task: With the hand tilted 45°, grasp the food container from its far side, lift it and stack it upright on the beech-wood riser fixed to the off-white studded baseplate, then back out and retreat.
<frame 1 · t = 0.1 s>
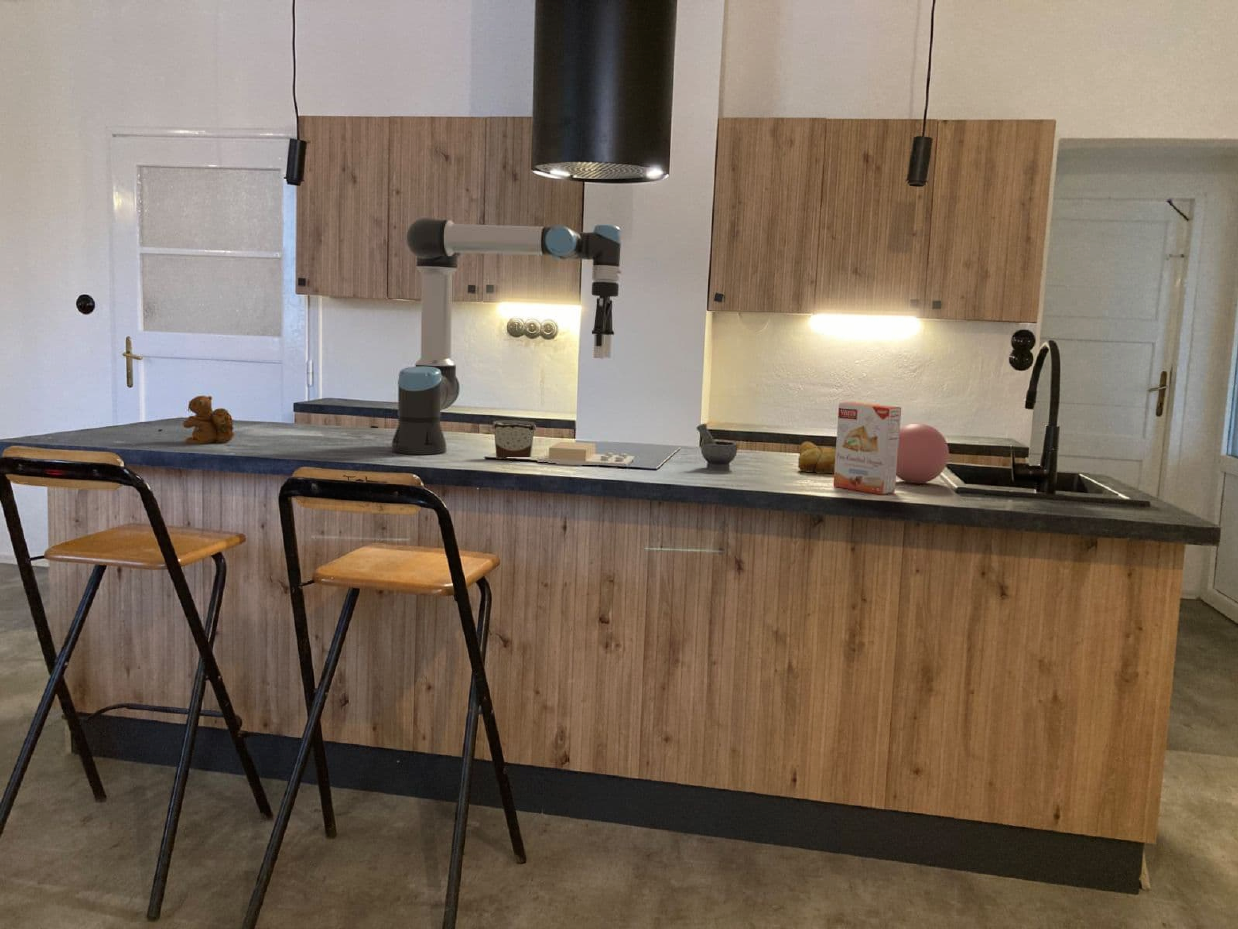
hand: (602, 358, 288), 28 cm above the countertop, tool pointing down, fingers open, 13 cm apart
bread roll: (819, 473, 275), on the countertop
build plate: (586, 461, 278), on the countertop
stuffed squirrel: (211, 443, 287), on the countertop
food container: (515, 458, 280), on the countertop
cracker box: (863, 491, 246), on the countertop
balloon: (913, 482, 264), on the countertop
mortar and pestle: (715, 468, 275), on the countertop
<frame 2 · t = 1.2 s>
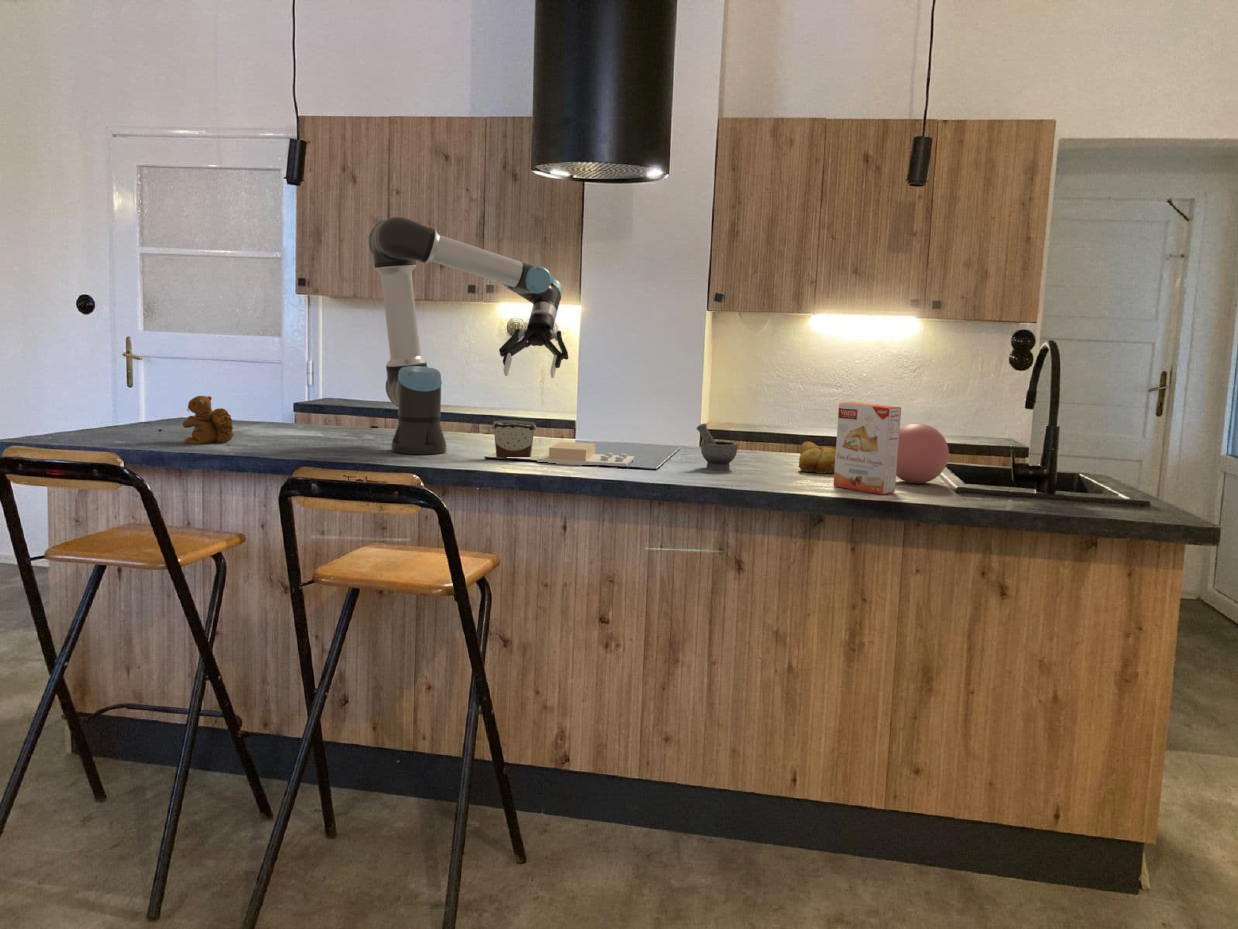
hand: (528, 373, 289), 23 cm above the countertop, tool tilted 45°, fingers open, 13 cm apart
nothing on the countertop moved.
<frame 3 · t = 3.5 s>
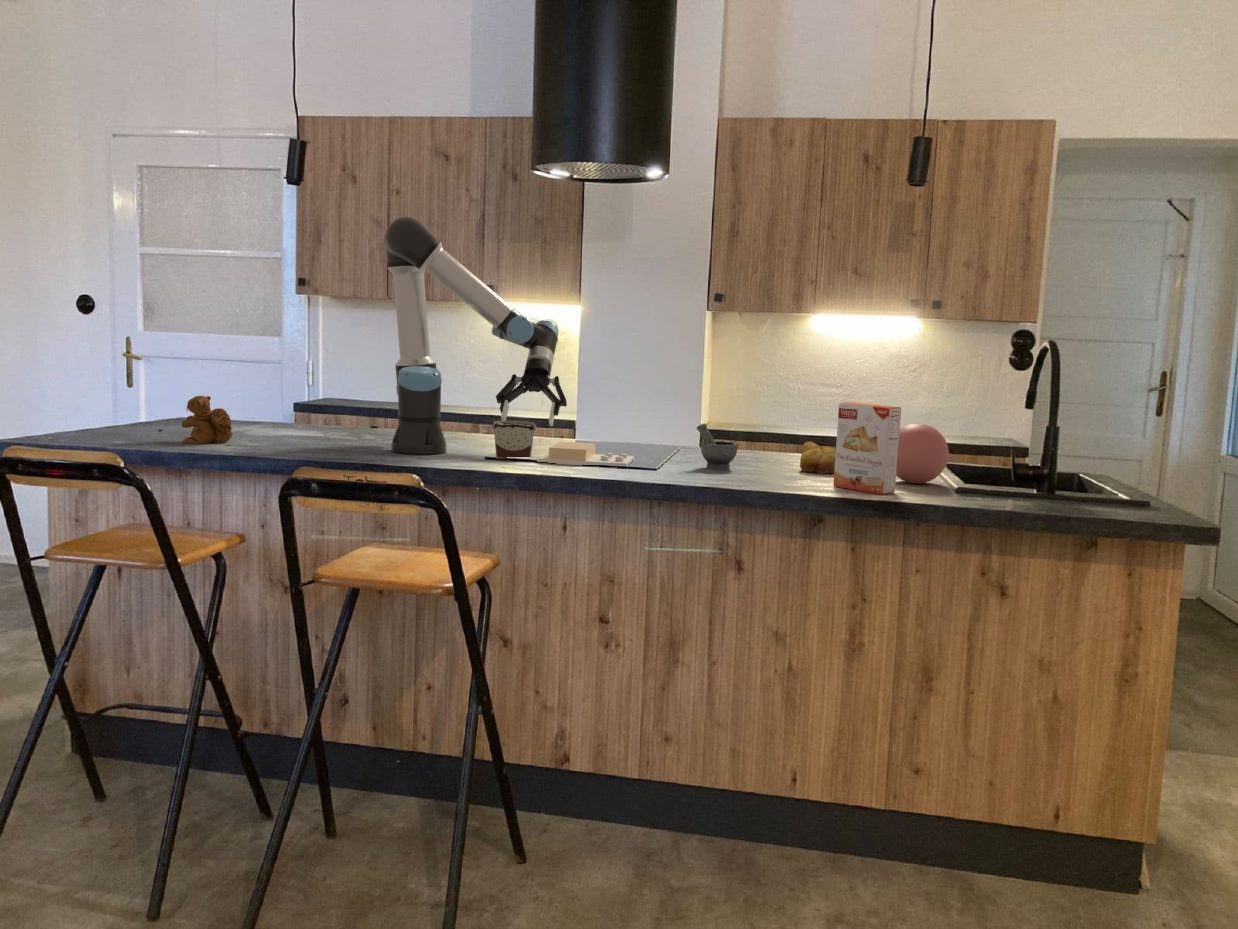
hand: (526, 422, 284), 9 cm above the countertop, tool tilted 45°, fingers open, 13 cm apart
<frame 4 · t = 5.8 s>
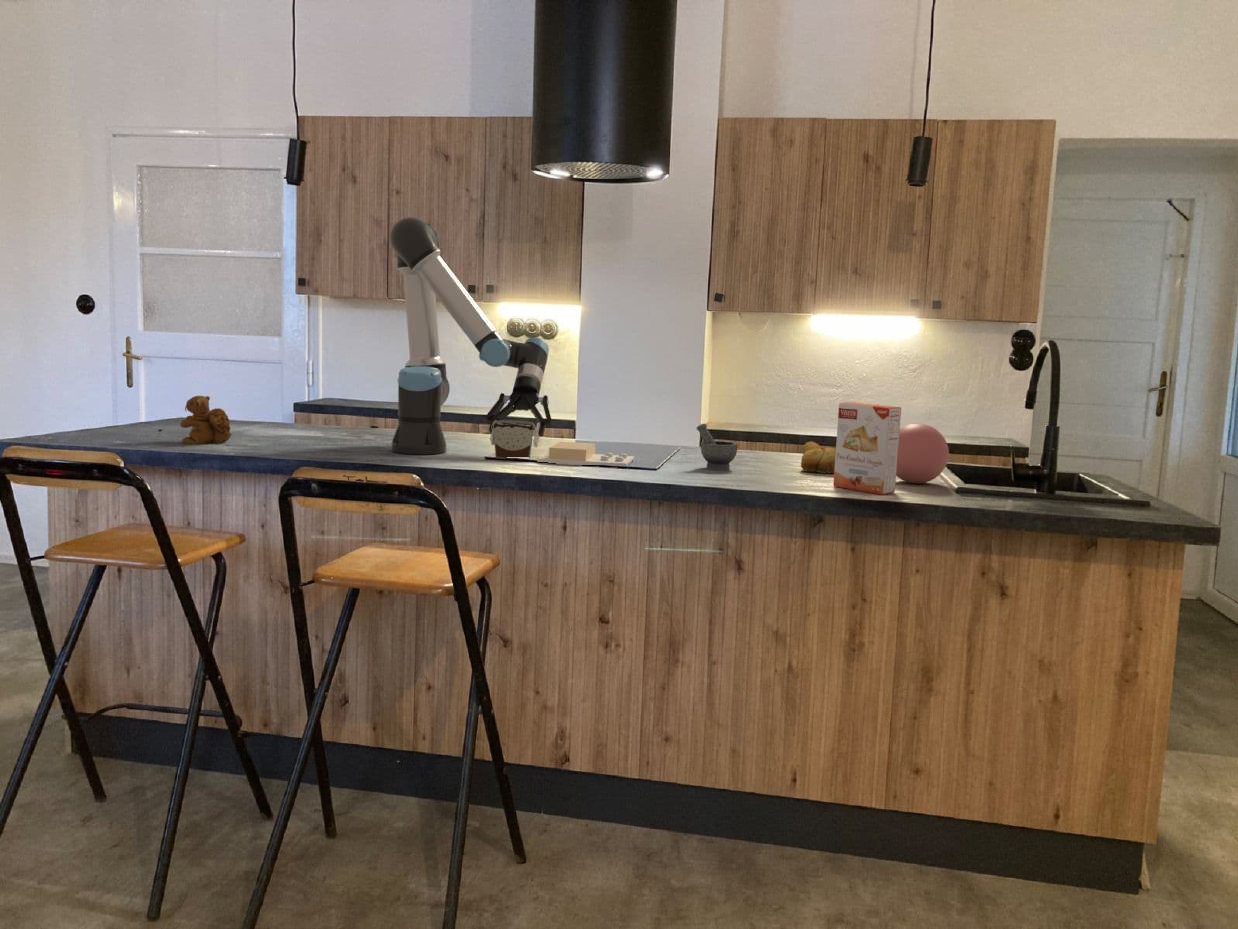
hand: (513, 443, 277), 4 cm above the countertop, tool tilted 45°, fingers closed on food container, 11 cm apart
food container: (514, 458, 280), on the countertop, touching gripper
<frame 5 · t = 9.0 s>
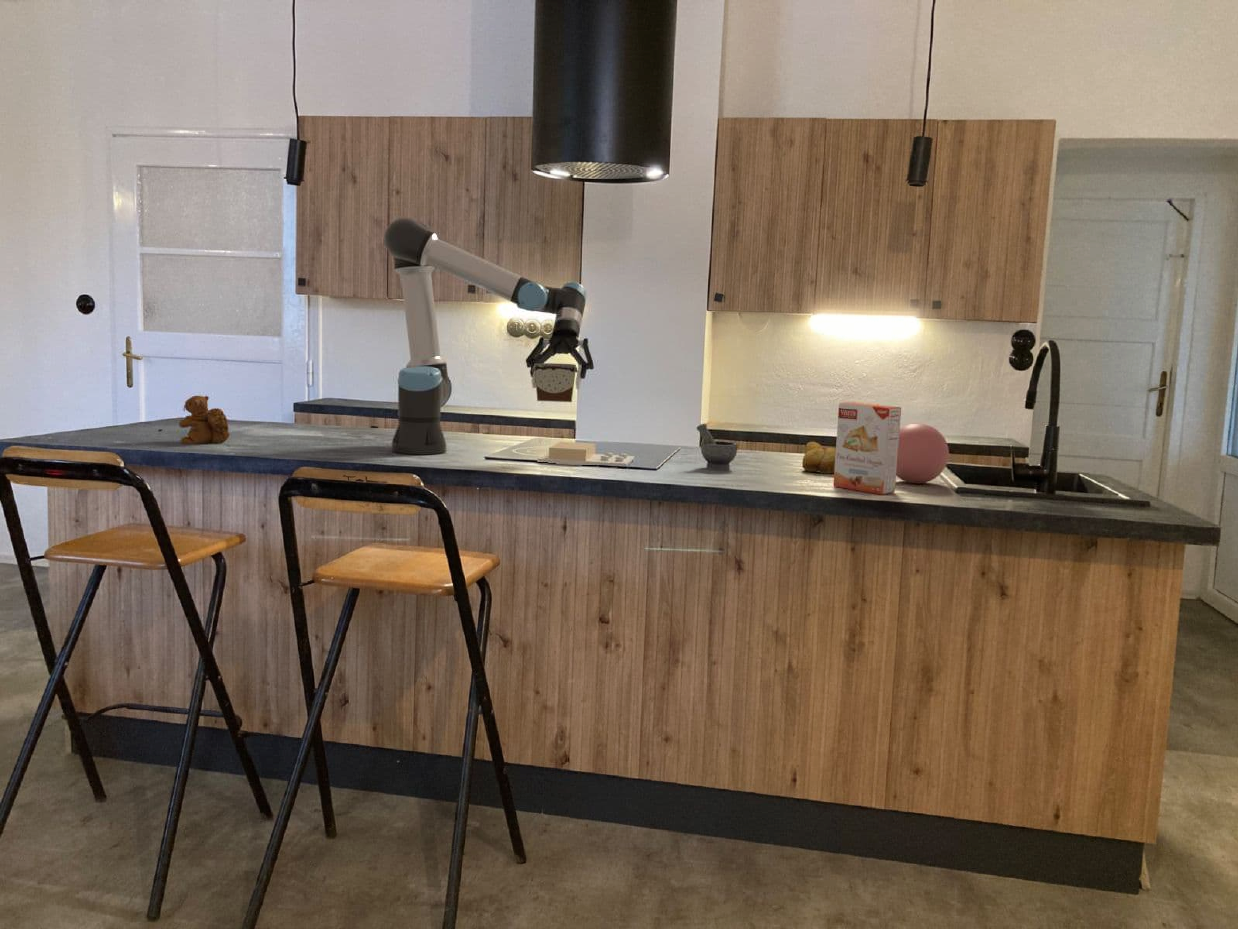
hand: (555, 385, 274), 21 cm above the countertop, tool tilted 45°, fingers closed on food container, 11 cm apart
food container: (556, 401, 277), point 16 cm above the countertop, touching gripper
when the fingers open (10 cm above the countertop, at t = 12.7 s): food container drops 1 cm, resting on build plate.
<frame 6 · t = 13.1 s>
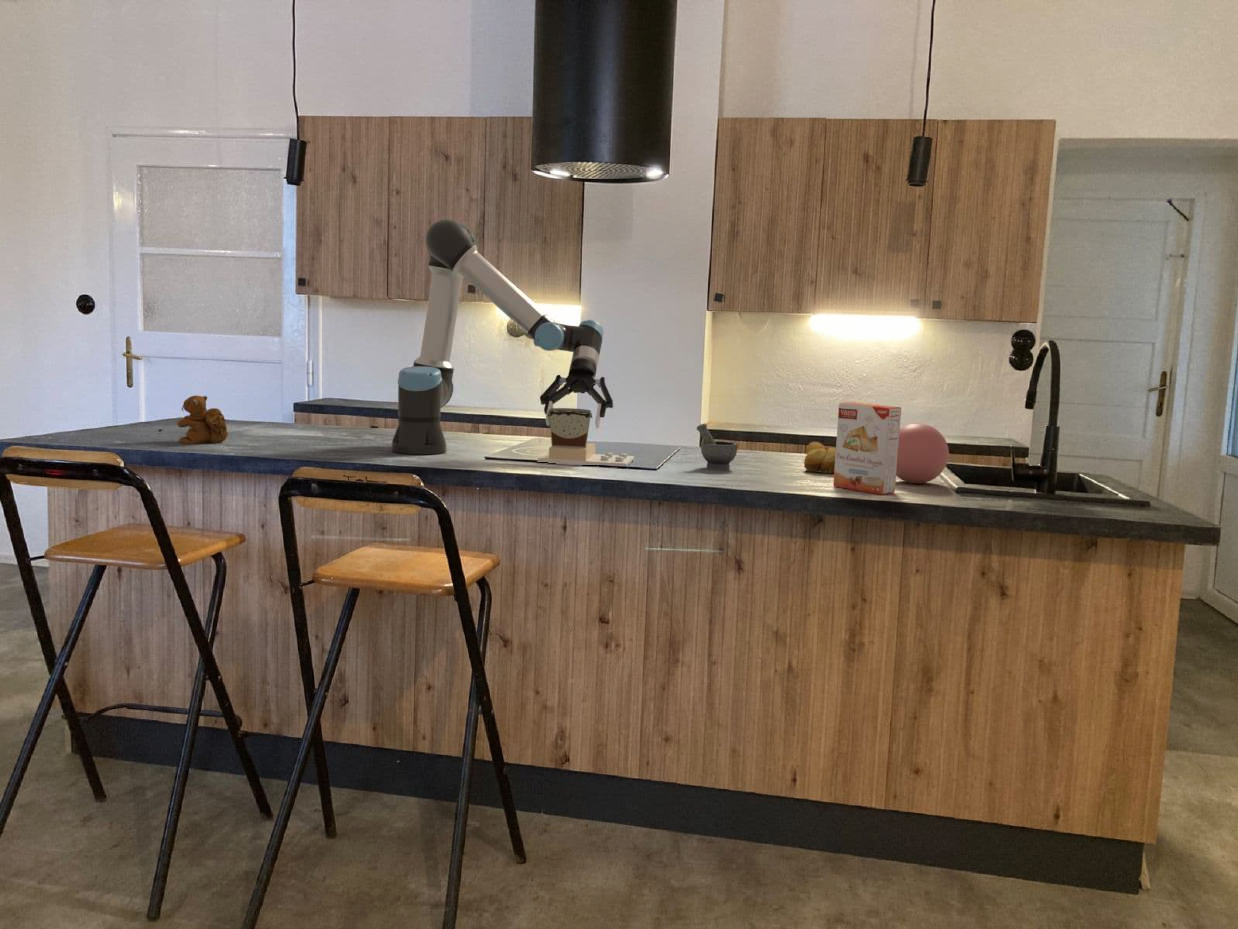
hand: (572, 423, 274), 10 cm above the countertop, tool tilted 45°, fingers open, 13 cm apart
food container: (570, 446, 277), point 4 cm above the countertop, touching build plate
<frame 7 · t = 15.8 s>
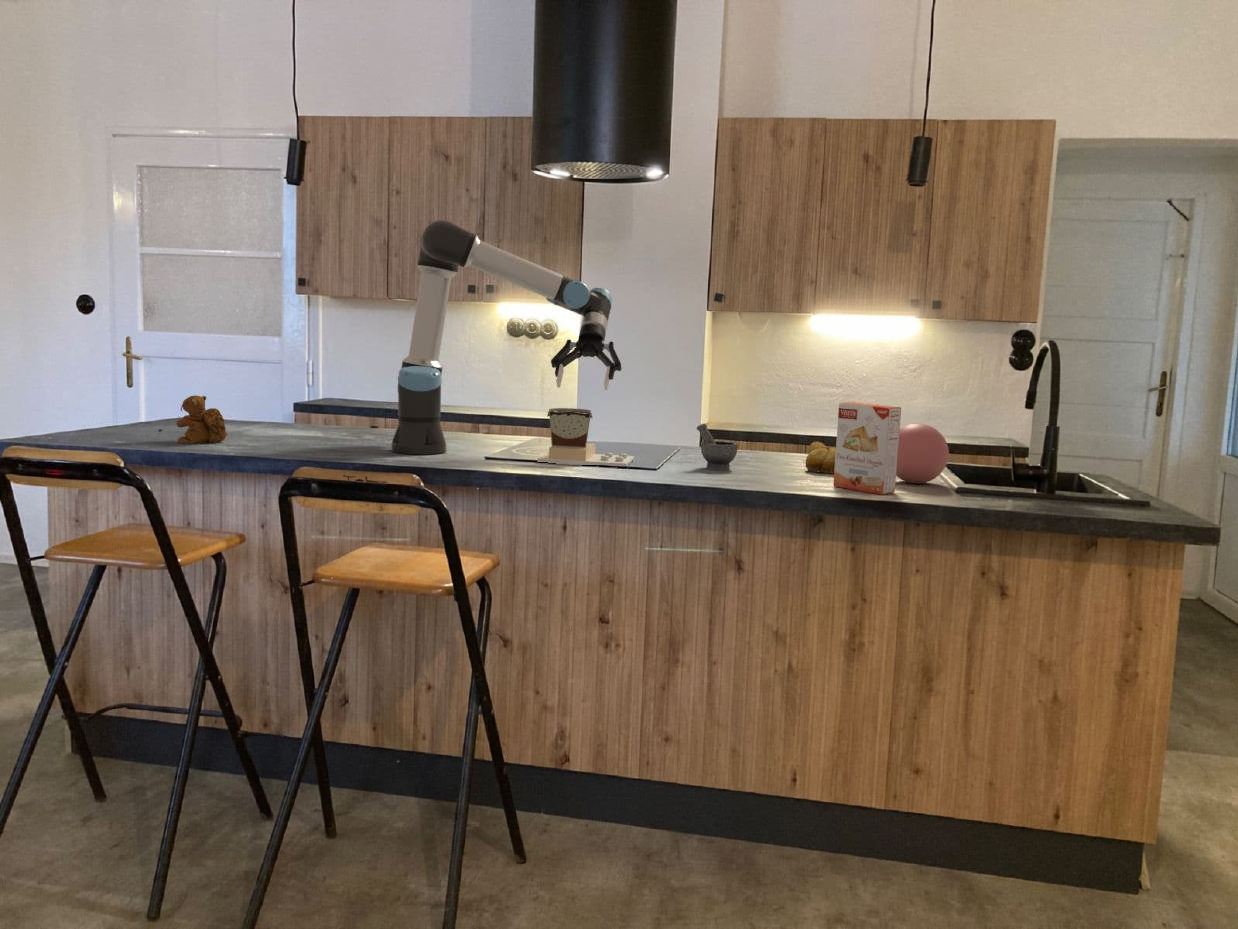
hand: (581, 385, 285), 20 cm above the countertop, tool tilted 45°, fingers open, 13 cm apart
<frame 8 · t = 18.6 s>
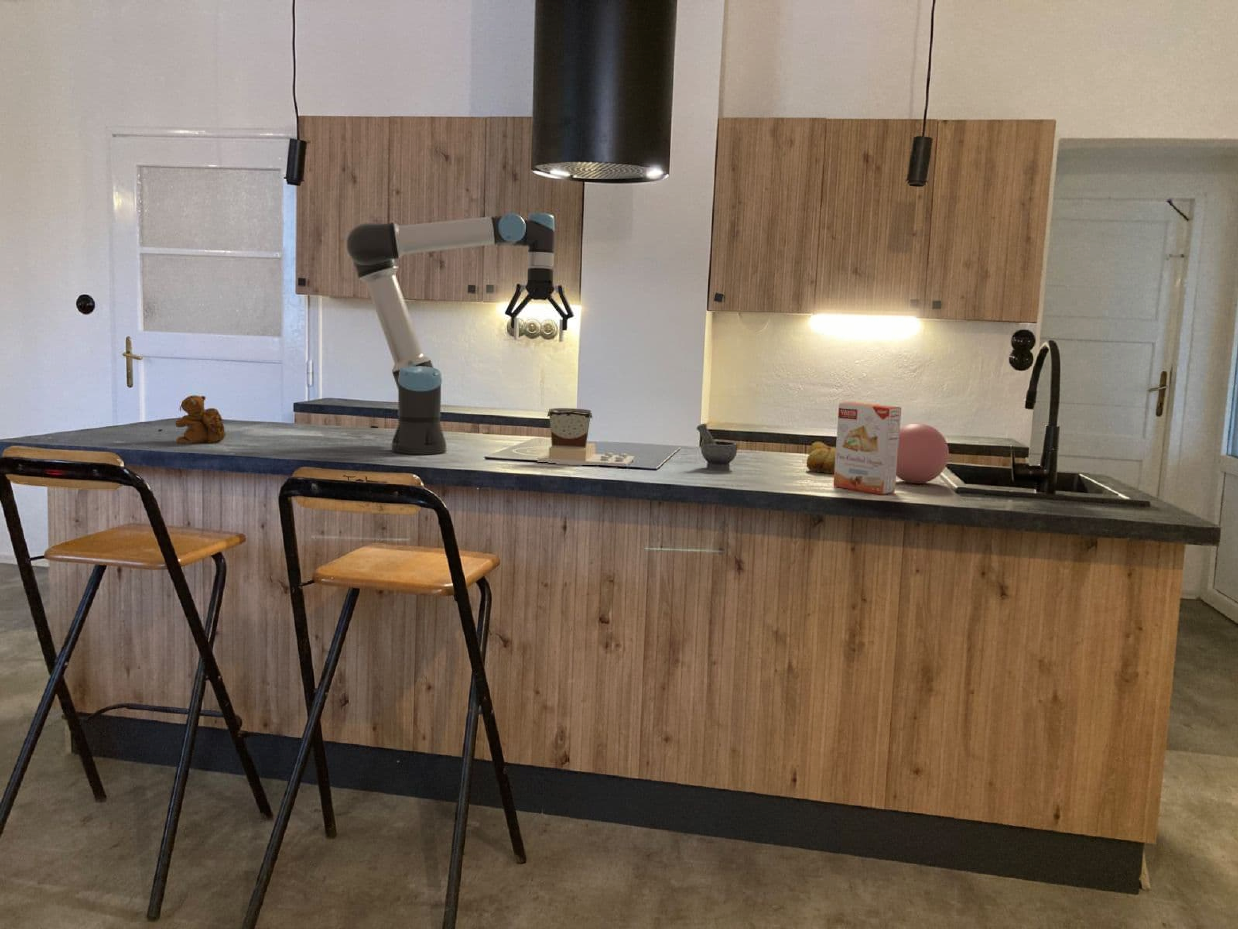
hand: (538, 340, 301), 32 cm above the countertop, tool pointing down, fingers open, 13 cm apart
at the end: food container inside the target area on the build plate (0.8 cm from its centre), point 4.0 cm above the build plate's base; food container tilted 0°; the gripper is holding nothing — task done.
